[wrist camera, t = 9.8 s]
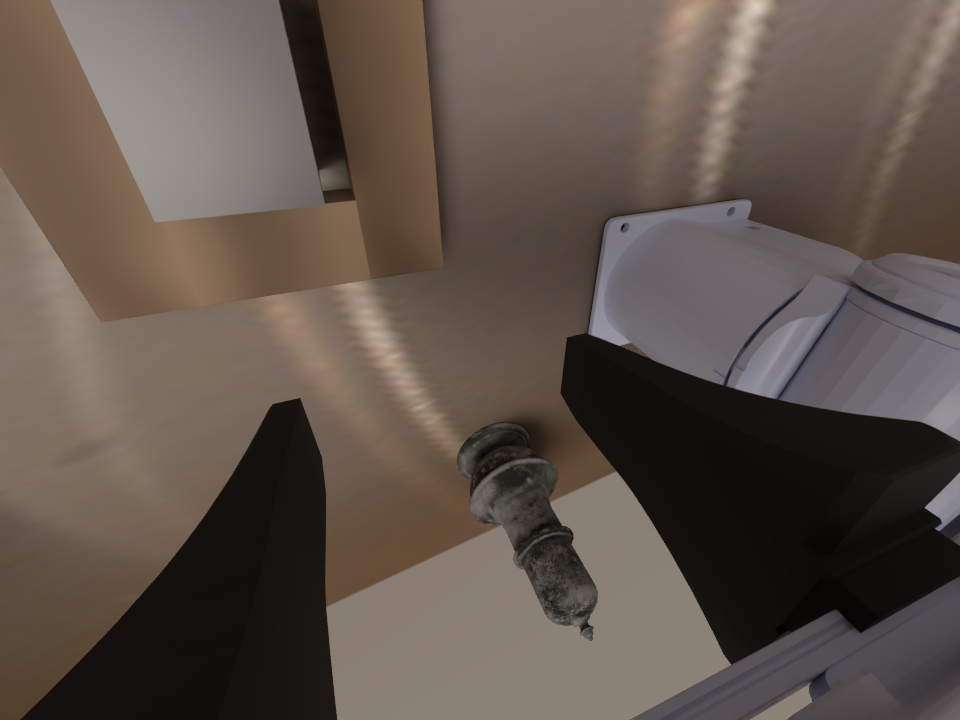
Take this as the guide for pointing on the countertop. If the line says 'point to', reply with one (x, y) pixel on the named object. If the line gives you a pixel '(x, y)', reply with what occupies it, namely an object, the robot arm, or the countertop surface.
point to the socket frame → (240, 237)
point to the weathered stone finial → (528, 519)
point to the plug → (199, 102)
